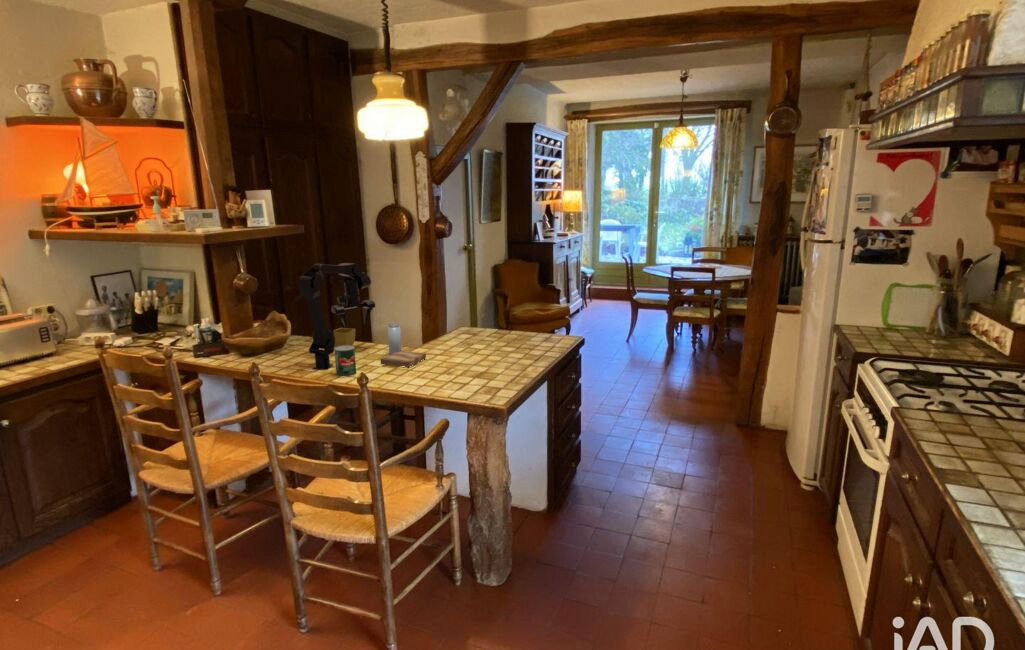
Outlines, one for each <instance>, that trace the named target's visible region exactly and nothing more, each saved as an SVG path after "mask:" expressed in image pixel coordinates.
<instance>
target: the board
mask: <svg viewBox="0 0 1025 650" xmlns="http://www.w3.org/2000/svg"><path fill="white" fill-rule="evenodd" d="M425 358H426V359H427V353H422V352H412V351H405V350H404V351H397V352H395V353H393V354H390V355H387V356H384V357H382V358H380V365H381V364H385V365H384V366H388V365H394V366H393V367H396V366H405V367H410V366H412V365H414V364H416V363H418V362H420V361H421V360H423V359H425ZM420 363H421V362H420ZM418 364H419V363H418ZM416 365H417V364H416ZM414 366H415V365H414ZM405 367H404V368H405ZM412 367H413V366H412ZM410 368H411V367H410Z"/></svg>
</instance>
